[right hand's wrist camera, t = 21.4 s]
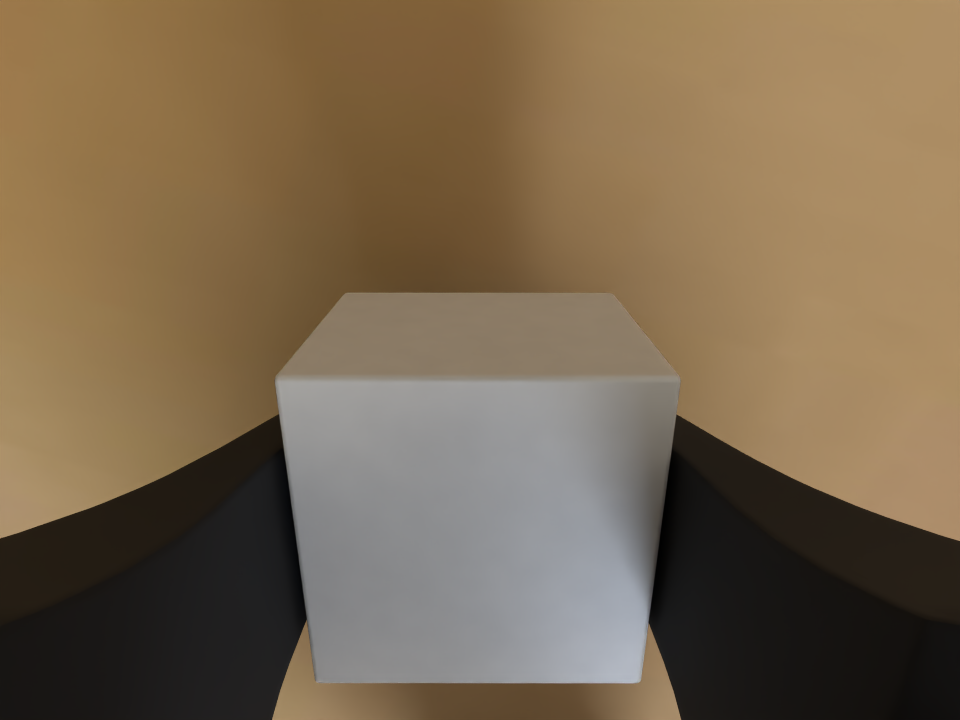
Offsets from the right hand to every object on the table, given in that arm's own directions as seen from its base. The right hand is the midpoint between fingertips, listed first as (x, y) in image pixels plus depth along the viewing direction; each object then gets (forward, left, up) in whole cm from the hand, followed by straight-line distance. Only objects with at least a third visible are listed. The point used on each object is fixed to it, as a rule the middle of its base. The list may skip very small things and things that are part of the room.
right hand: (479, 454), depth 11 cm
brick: (0, 0, -1) cm, 1 cm away
